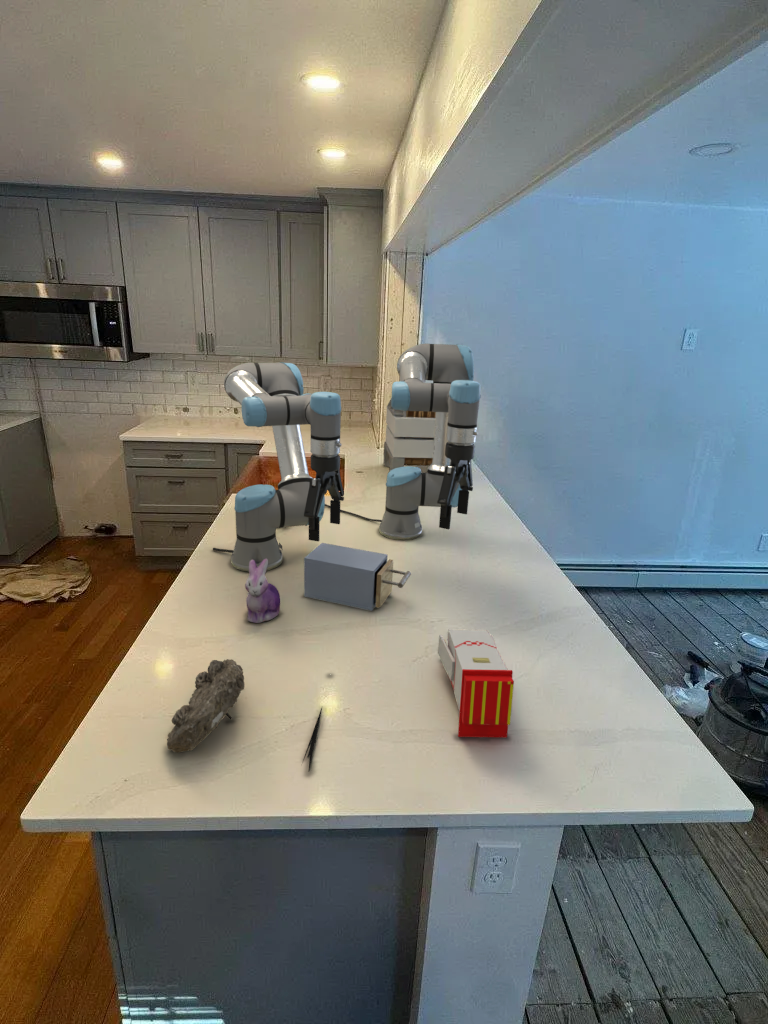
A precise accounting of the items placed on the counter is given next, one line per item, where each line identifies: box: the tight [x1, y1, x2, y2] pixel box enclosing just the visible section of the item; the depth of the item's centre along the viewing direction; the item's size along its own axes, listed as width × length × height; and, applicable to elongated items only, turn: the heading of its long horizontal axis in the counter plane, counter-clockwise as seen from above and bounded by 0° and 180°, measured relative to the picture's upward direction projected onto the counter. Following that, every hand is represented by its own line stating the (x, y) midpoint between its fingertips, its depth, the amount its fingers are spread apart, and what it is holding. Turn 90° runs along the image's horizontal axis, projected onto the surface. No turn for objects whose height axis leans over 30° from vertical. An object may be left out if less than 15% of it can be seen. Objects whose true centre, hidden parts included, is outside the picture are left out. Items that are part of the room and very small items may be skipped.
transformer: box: [383, 397, 436, 472], centre depth 268 cm, size 34×33×41 cm
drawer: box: [374, 558, 412, 608], centre depth 153 cm, size 24×10×10 cm, turn 71°
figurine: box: [244, 559, 282, 624], centre depth 141 cm, size 9×10×15 cm
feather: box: [301, 673, 332, 771], centre depth 108 cm, size 2×28×2 cm
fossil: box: [166, 658, 245, 754], centre depth 106 cm, size 22×10×15 cm
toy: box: [437, 628, 515, 738], centre depth 117 cm, size 12×13×30 cm
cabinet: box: [303, 542, 389, 612], centre depth 154 cm, size 20×11×12 cm, turn 71°
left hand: (324, 531), depth 152 cm, fingers open, 13 cm apart
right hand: (453, 520), depth 152 cm, fingers open, 13 cm apart
